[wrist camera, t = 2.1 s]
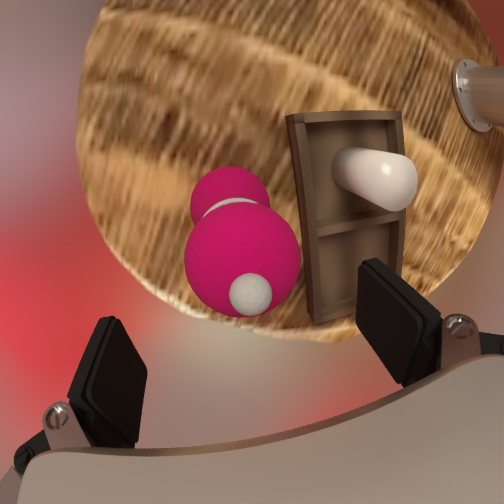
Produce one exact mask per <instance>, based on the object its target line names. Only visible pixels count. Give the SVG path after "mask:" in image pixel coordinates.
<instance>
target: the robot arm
mask: <svg viewBox="0 0 504 504" xmlns="http://www.w3.org/2000/svg"><path fill="white" fill-rule="evenodd" d="M453 89H454V94H455V99H456V102H457V105H458V107H459V110H460V112H461V114H462V116H463V118H464V120H465V121H466V122H467V124H468V125H469V126H470V127H471V128H472V129H474V130H475V131H478V132H487V131H488V130H490V129H491V127H492V126H493V125H498V126H503V127H504V66H492V67H480V65H479V64H477V63H476V62H475V61H473V60H471V59H461V60H459V61H458V62H457V63H456V65H455V67H454V70H453ZM440 315H441V313H440V312H439V311H438V310H437V309H435V307H433V305H431V304H430V303H429V302H428V301H427V300H426V299H425V298H424V297H423V296H421V295H420V294H419V293H418V292H417V291H416V290H415V289H414V288H412V287H411V286H410V285H409V284H408V283H407V282H405V281H404V280H403V279H402V278H401V277H400V276H398V275H397V274H396V273H395V272H394V271H393V270H391V269H390V268H389V267H388V266H387V265H385V264H384V263H383V262H382V261H380V260H379V259H378V258H376V257H375V258H371V259H367V260H363V261H362V263H361V265H359V267H358V283H357V304H356V325H357V327H358V329H359V330H360V331H361V333H362V334H363V335H364V337H365V338H366V340H367V341H368V343H369V344H370V345H371V347H372V348H373V350H374V351H375V352H376V354H377V355H378V357H379V358H380V360H381V361H382V363H383V364H384V365H385V367H386V368H387V370H388V371H389V373H390V374H391V376H392V377H393V379H394V380H395V382H396V383H397V384H400V383H401V385H402V386H403V389H401V390H399V391H397V392H395V393H392V394H390V395H388V396H386V397H383V398H381V399H379V400H377V401H374V402H372V403H369V404H367V405H365V406H362V407H359V408H357V409H354V410H352V411H349V412H346V413H343V414H341V415H338V416H335V417H332V418H329V419H326V420H323V421H320V422H316V423H314V424H310V425H306V426H303V427H299V428H295V429H292V430H288V431H284V432H280V433H275V434H271V435H266V436H261V437H257V438H252V439H246V440H241V441H234V442H227V443H221V444H213V445H204V446H193V447H181V448H159V449H156V448H155V449H134V447H135V443H137V442H138V439H139V430H140V422H141V414H142V406H143V399H144V393H145V386H146V380H147V368H146V366H145V364H144V362H143V360H142V359H141V357H140V355H139V354H138V352H137V350H136V349H135V347H134V345H133V343H132V341H131V339H130V338H129V336H128V334H127V332H126V330H125V328H124V326H123V324H122V323H121V321H120V320H119V319H116V318H115V317H114V316H109V317H103V318H100V319H99V321H98V323H97V325H96V327H95V329H94V332H93V334H92V336H91V338H90V340H89V342H88V345H87V347H86V349H85V352H84V354H83V356H82V359H81V361H80V363H79V366H78V368H77V371H76V373H75V376H74V378H73V381H72V383H71V386H70V389H69V392H68V395H67V397H68V398H69V399H70V401H69V404H68V403H66V402H63V401H59V402H55V403H53V404H52V405H51V406H49V407H48V408H47V410H46V411H45V413H44V415H43V419H42V424H43V428H44V429H43V430H42V431H41V432H39V433H38V434H37V435H35V436H34V437H32V438H31V439H30V440H28V441H27V442H26V443H25V444H23V445H21V446H20V447H19V448H18V449H17V451H16V453H15V456H14V466H15V468H14V467H13V466H11V468H10V469H9V470H8V472H7V473H6V475H5V476H4V477H3V479H2V480H1V481H0V504H504V335H497V334H490V333H483V332H479V331H478V327H477V324H476V323H475V322H474V320H473V319H471V318H470V317H468V316H466V315H463V314H451V315H448V316H447V317H446V318H445V319H444V320H443V319H442V318H441V317H440Z"/></svg>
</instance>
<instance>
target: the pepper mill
mask: <svg viewBox="0 0 504 504" xmlns="http://www.w3.org/2000/svg"><path fill="white" fill-rule="evenodd" d="M190 210H191V217H192V220H193V223H194V225H195V227H194V229H193V230H192V232H191V234H190V236H189V238H188V241H187V245H186V248H185V257H184V264H185V272H186V276H187V279H188V282H189V284H190V286H191V288H192V289H193V291H194V292H195V294H196V295H197V296H198V298H199V299H200V300H201V301H202V302H203V303H204V304H206V305H207V306H208V307H210V308H211V309H213V310H215V311H217V312H219V313H221V314H224V315H227V316H232V317H238V318H240V317H253V316H257V315H260V314H263V313H265V312H267V311H269V310H271V309H273V308H275V307H276V306H277V305H279V304H280V303H281V302H282V301H283V300H284V299H285V298H286V297H287V296H288V295H289V293H290V292H291V290H292V289H293V288H294V285H295V283H296V281H297V279H298V275H299V270H300V261H301V257H300V249H299V245H298V242H297V239H296V237H295V235H294V232H293V230H292V229H291V227H290V226H289V224H288V223H287V222H286V221H285V220H284V219H283V218H282V217H281V216H280V215H279V214H277V213H276V212H275V211H273V210H272V209H270V202H269V197H268V194H267V191H266V189H265V187H264V185H263V183H262V182H261V181H260V179H259V178H258V177H257V176H256V175H254V174H253V173H251V172H250V171H248V170H246V169H243V168H240V167H233V166H227V167H221V168H217V169H214V170H212V171H210V172H209V173H207V174H206V175H205V176H203V177H202V178H201V179H200V181H199V182H198V183H197V185H196V186H195V188H194V190H193V193H192V196H191V203H190Z"/></svg>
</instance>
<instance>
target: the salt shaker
mask: <svg viewBox="0 0 504 504" xmlns="http://www.w3.org/2000/svg"><path fill="white" fill-rule="evenodd" d="M330 169H331V175H332V178H333V180H334V181H335V183H336V184H337V185H338V186H340V187H342V188H344V189H346V190H348V191H350V192H352V193H354V194H356V195H358V196H360V197H362V198H364V199H366V200H368V201H370V202H372V203H374V204H376V205H378V206H380V207H382V208H384V209H386V210H388V211H394V212H395V211H400V210H402V209H404V208H406V207H407V206H408V205H409V204H410V203H411V202H412V200H413V198H414V196H415V194H416V191H417V186H418V176H417V171H416V168H415V166H414V164H413V163H412V162H411V161H410V159H408V158H407V157H405V156H403V155H399V154H394V153H389V152H383V151H378V150H372V149H365V148H358V147H351V146H348V147H344V148H341V149H340V150H338V151H337V152H336V153H335V155H334V156H333V158H332V161H331V167H330Z"/></svg>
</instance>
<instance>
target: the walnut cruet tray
mask: <svg viewBox="0 0 504 504" xmlns="http://www.w3.org/2000/svg"><path fill="white" fill-rule="evenodd" d="M285 117H286V123H287V129H288V135H289V142H290V149H291V155H292V162H293V169H294V177H295V184H296V192H297V200H298V209H299V217H300V227H301V236H302V246H303V257H304V268H305V280H306V293H307V307H308V313H309V315H310V316H311V318H312V320H313V322H314V324H318V323H322V322H325V321H329V320H332V319H336V318H339V317H343V316H346V315H349V314H353V313H356V304H357V283H358V267H359V265H361V263H362V261H363V260H367V259H371V258H375V257H376V258H378V259H379V260H380V261H382V262H383V263H384V264H385V265H387V266H388V267H389V268H390V269H391V270H393V271H394V272H395V273H396V274H397V275H398V276H400V277H401V271H402V262H403V251H404V237H405V218H406V208H404V209H402V210H400V211H395V212H394V211H388V210H386V209H384V208H382V207H380V206H378V205H376V204H374V203H372V202H370V201H368V200H366V199H364V198H362V197H360V196H358V195H356V194H354V193H352V192H350V191H348V190H346V189H344V188H342V187H340V186H338V185H337V184H336V183H335V181H334V180H333V178H332V175H331V169H330V167H331V161H332V158H333V156H334V155H335V153H336V152H337V151H338V150H340V149H341V148H344V147H348V146H351V147H358V148H365V149H372V150H378V151H383V152H389V153H394V154H399V155H403V156H405V148H404V136H403V125H402V116H401V111H372V110H358V111H327V112H311V113H299V114H292V115H288V116H285Z"/></svg>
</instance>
